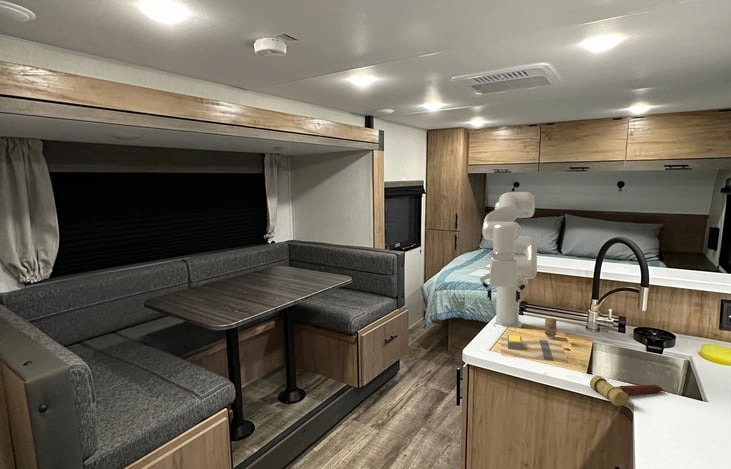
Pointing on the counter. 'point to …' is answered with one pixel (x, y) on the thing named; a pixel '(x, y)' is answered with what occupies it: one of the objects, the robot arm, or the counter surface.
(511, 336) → the stud finder
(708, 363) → the counter surface
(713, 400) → the counter surface
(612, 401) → the gavel
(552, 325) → the brown grey cylinder
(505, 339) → the subfloor board
